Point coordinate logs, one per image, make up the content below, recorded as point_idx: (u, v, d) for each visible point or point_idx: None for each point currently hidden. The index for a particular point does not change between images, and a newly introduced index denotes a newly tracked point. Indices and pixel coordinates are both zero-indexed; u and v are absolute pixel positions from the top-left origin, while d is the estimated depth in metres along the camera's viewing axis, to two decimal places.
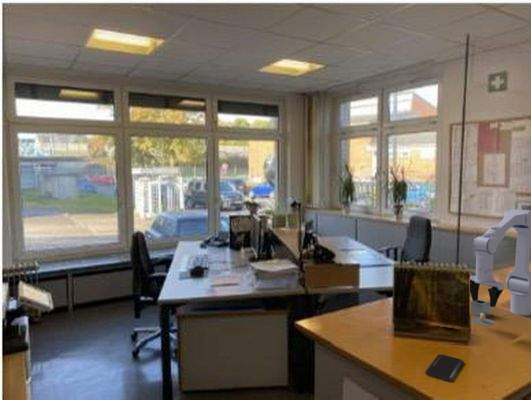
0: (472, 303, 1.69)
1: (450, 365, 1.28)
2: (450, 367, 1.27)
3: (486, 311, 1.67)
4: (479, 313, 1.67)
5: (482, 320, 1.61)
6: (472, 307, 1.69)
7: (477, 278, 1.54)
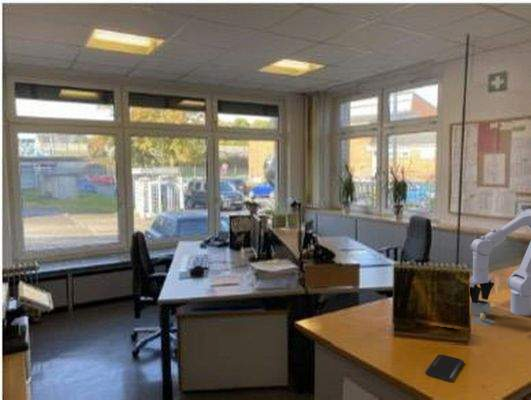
0: (472, 303, 1.69)
1: (450, 365, 1.28)
2: (450, 367, 1.27)
3: (486, 311, 1.67)
4: (479, 313, 1.67)
5: (482, 320, 1.61)
6: (472, 307, 1.69)
7: None
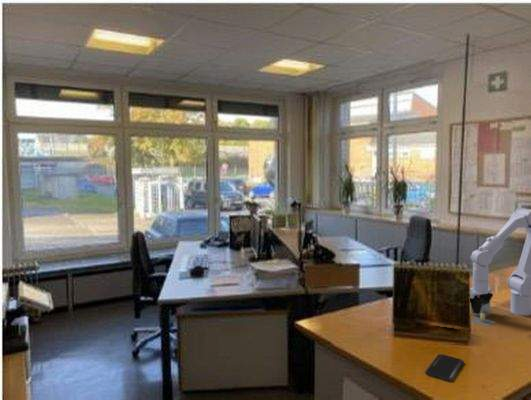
0: None
1: (450, 365, 1.28)
2: (450, 367, 1.27)
3: (486, 311, 1.67)
4: (479, 313, 1.67)
5: (482, 320, 1.61)
6: None
7: None
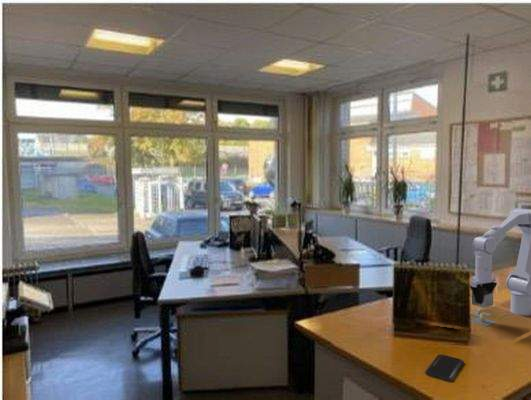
0: None
1: (450, 365, 1.28)
2: (450, 367, 1.27)
3: (489, 302, 1.59)
4: (481, 304, 1.58)
5: (482, 320, 1.61)
6: (473, 298, 1.61)
7: None
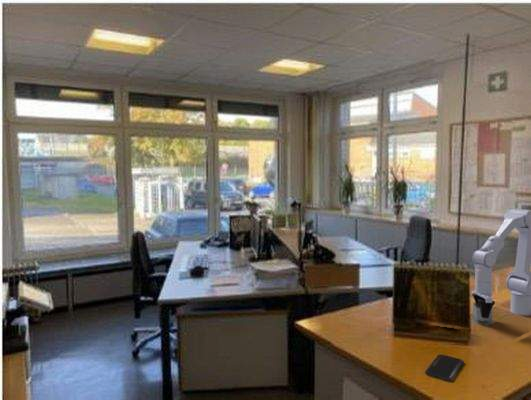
0: (479, 309, 1.59)
1: (450, 365, 1.28)
2: (450, 367, 1.27)
3: None
4: (487, 318, 1.58)
5: None
6: (479, 313, 1.59)
7: (475, 289, 1.62)
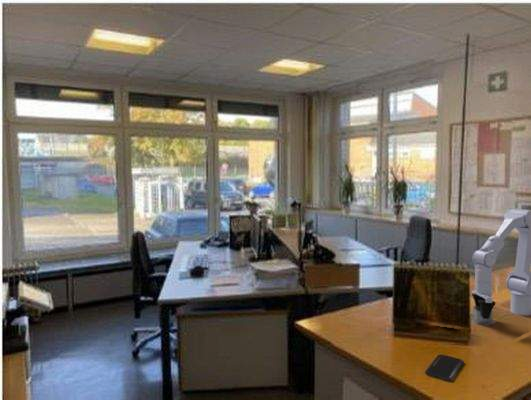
0: (479, 312, 1.59)
1: (450, 365, 1.28)
2: (450, 367, 1.27)
3: None
4: (488, 321, 1.58)
5: None
6: (479, 316, 1.59)
7: (475, 289, 1.62)
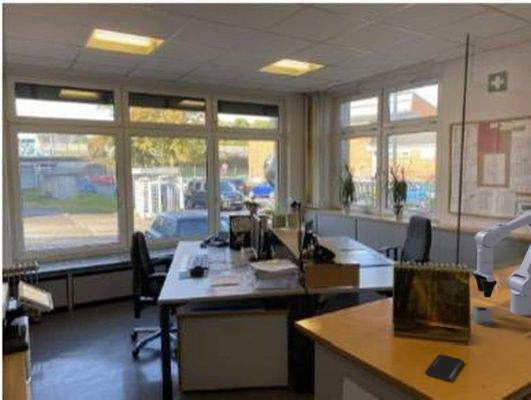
0: (479, 312, 1.59)
1: (450, 365, 1.28)
2: (450, 367, 1.27)
3: None
4: (488, 321, 1.58)
5: None
6: (479, 316, 1.59)
7: (477, 269, 1.67)
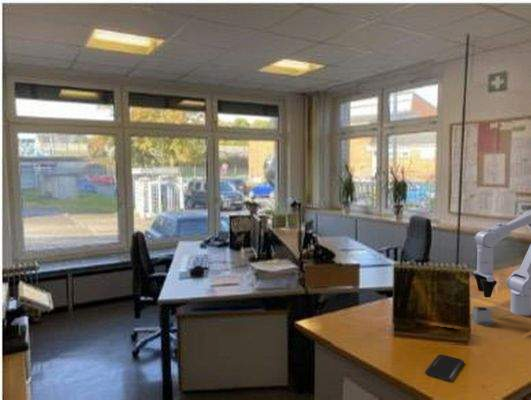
0: (479, 312, 1.59)
1: (450, 365, 1.28)
2: (450, 367, 1.27)
3: None
4: (488, 321, 1.58)
5: None
6: (479, 316, 1.59)
7: (477, 269, 1.67)
